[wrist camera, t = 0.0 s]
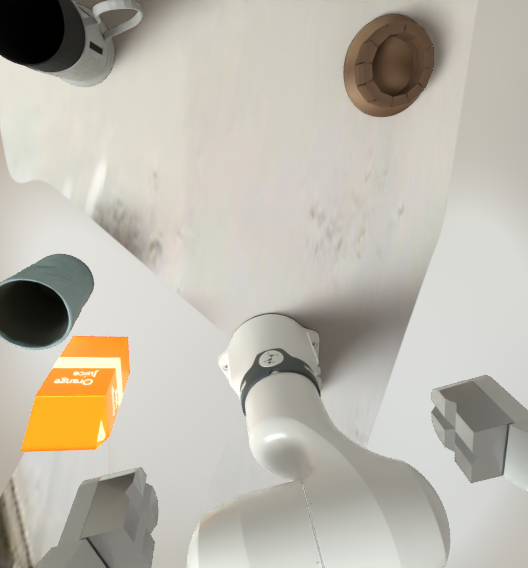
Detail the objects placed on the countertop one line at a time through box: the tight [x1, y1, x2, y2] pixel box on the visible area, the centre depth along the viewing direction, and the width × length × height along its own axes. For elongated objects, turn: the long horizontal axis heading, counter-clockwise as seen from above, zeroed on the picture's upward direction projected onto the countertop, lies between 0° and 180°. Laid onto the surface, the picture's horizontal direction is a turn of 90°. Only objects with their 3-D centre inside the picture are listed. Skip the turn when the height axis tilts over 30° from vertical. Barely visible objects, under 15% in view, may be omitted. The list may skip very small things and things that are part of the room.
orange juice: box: [21, 336, 130, 452], centre depth 54 cm, size 8×9×20 cm
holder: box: [0, 0, 143, 87], centre depth 38 cm, size 9×14×15 cm, turn 100°
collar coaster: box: [344, 14, 434, 117], centre depth 48 cm, size 12×12×4 cm
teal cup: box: [0, 254, 94, 350], centre depth 51 cm, size 10×10×12 cm
